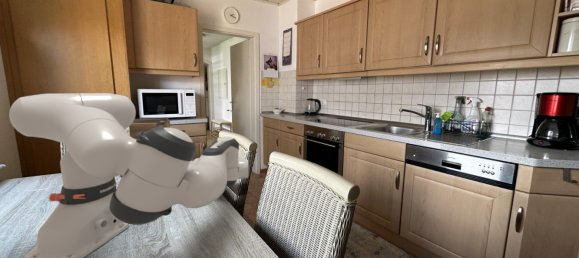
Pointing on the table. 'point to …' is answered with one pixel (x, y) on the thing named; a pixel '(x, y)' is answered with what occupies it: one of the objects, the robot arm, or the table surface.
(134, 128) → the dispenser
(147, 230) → the table surface
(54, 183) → the table surface
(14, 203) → the table surface
